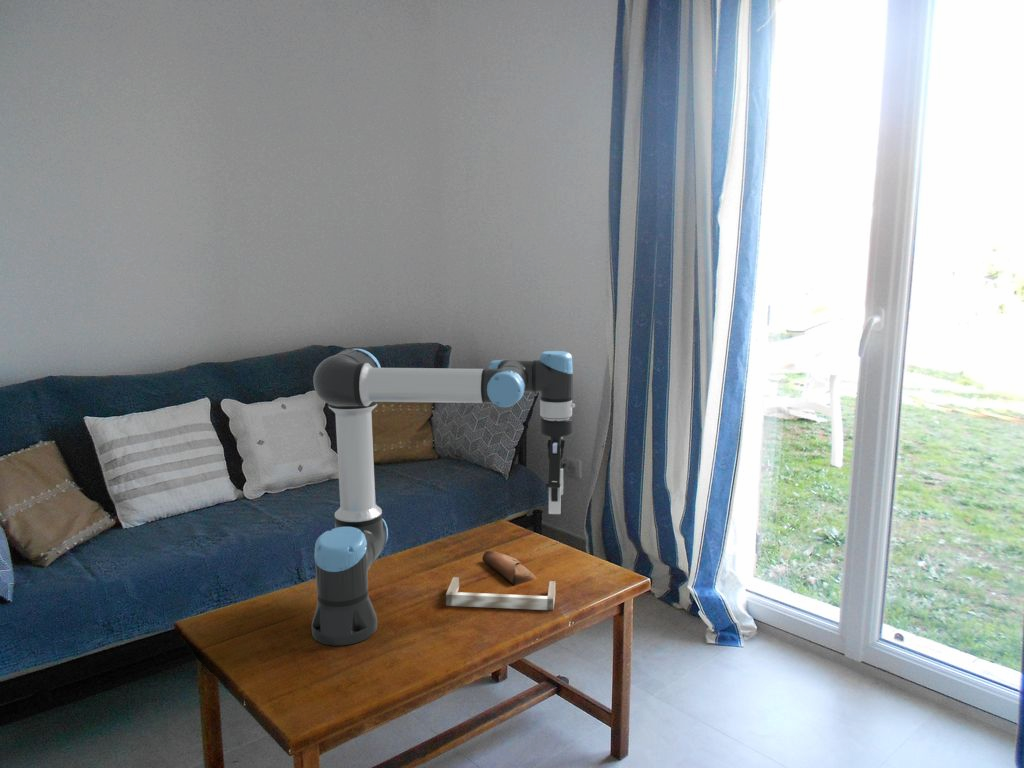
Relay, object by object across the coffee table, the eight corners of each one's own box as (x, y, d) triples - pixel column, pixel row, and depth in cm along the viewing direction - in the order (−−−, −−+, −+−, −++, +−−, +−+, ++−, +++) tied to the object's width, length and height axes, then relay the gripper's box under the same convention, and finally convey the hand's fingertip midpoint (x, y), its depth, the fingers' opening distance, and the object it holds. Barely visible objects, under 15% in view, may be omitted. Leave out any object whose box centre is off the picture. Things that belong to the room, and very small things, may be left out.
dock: (446, 605, 188) (445, 594, 188) (453, 587, 198) (453, 577, 198) (553, 610, 185) (553, 599, 185) (555, 592, 195) (555, 581, 195)
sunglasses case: (540, 578, 203) (529, 561, 200) (521, 596, 201) (509, 579, 198) (507, 555, 218) (496, 539, 216) (489, 571, 216) (478, 555, 213)
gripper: (570, 430, 163) (570, 523, 167) (573, 406, 187) (573, 487, 191) (536, 429, 164) (536, 521, 168) (544, 405, 188) (544, 486, 192)
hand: (556, 503), depth 180 cm, fingers open, 13 cm apart
